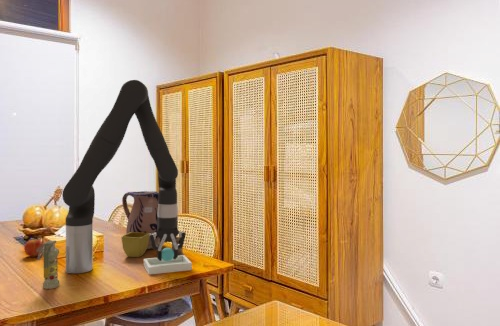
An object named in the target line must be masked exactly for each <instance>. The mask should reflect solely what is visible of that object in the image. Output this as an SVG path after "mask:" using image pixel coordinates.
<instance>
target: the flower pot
mask: <svg viewBox="0 0 500 326" xmlns="http://www.w3.org/2000/svg"><path fill="white" fill-rule="evenodd" d="M149 234H150V233H140V232H130V233H128V234H126V233H125V234H123V235H122V236H121V245H122V249H123V251H124V254H125V255H126V257H129V258H130V257H131V258H140V257H141V256H144V255H145V253H146V251H147V250H148V249H147V247H148V242H149Z"/></svg>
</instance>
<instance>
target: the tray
mask: <svg viewBox="0 0 500 326" xmlns="http://www.w3.org/2000/svg"><path fill="white" fill-rule="evenodd" d="M143 267H144V268H145V270H146V272H147V275H158V274H165V273H166V274H168V273H174V272H184V271H185V272H186V271H192V270H193V263H192V262H191V260H190V259H189V258H188V257H187V256H186V255H185V254H184V255H179V256H178V257H177V258H176V259H173V258H172V259H171V260H170V261H164V260H163V259H162V260H161V261H159V259H158V258H157V257H150V258H148V257H147V258H143Z"/></svg>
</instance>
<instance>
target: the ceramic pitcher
mask: <svg viewBox="0 0 500 326" xmlns="http://www.w3.org/2000/svg"><path fill="white" fill-rule="evenodd" d="M158 193H159V192H157V191H154V190H152V191H150V190H149V191H147V190H146V191H145V190H144V191H127V192H126V193H124V194H123V196H122V200H121V201H122V208H123V210H124V211H123V212H124V213H125V216H126V219H127V222H126V230H125V231H126V233H125V235H126V234H128V233H130V232H140V233H151V234H153V233H156V231H157V227H158V215H157V212H158ZM128 196H130V197H132V198H133V204H132V207H131V210H130V209H129V207H128V201H127V199H128ZM159 240H160V239H159V237H158V236H156V239H154V241H155V245H156V246H158V242H159ZM150 249H153V248H152V245H151V241H150V237H149V242H148V247H147V249H146V250H150Z"/></svg>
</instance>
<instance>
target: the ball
mask: <svg viewBox="0 0 500 326" xmlns="http://www.w3.org/2000/svg"><path fill="white" fill-rule="evenodd" d="M161 251H162V259H163V260H164V261H170V260H171V259H172V258H173V257H174V251H173V250H172V247H164V248H163V249H161Z"/></svg>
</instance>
